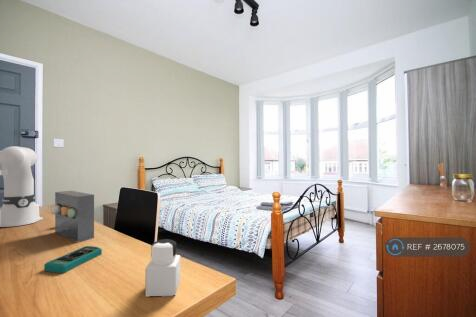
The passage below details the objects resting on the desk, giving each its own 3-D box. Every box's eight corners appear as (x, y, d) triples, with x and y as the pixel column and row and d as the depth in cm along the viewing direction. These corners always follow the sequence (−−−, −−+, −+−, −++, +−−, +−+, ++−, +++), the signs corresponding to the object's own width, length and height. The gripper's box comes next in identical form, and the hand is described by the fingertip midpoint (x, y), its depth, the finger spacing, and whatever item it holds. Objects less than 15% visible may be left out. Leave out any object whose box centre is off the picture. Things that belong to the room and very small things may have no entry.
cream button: (51, 213, 100) (51, 205, 100) (57, 212, 102) (57, 204, 102) (54, 214, 98) (54, 206, 98) (61, 213, 100) (61, 205, 100)
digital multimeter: (103, 254, 81) (103, 246, 81) (62, 275, 67) (62, 265, 67) (86, 252, 83) (86, 244, 83) (42, 272, 68) (42, 262, 68)
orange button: (60, 215, 98) (60, 206, 98) (67, 214, 100) (67, 205, 100) (64, 216, 96) (64, 207, 96) (71, 215, 98) (71, 206, 98)
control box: (55, 232, 104) (55, 192, 104) (70, 229, 109) (70, 190, 109) (77, 242, 92) (77, 196, 92) (94, 237, 97) (94, 194, 97)
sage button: (67, 217, 94) (67, 208, 94) (74, 216, 96) (74, 207, 96) (71, 218, 92) (71, 209, 92) (78, 217, 94) (78, 208, 94)
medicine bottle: (153, 282, 62) (153, 237, 62) (180, 280, 63) (180, 236, 63) (145, 297, 55) (145, 247, 55) (175, 296, 56) (175, 246, 56)
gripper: (-58, 182, 79) (-1, 179, 91) (-49, 186, 68) (15, 182, 80) (-58, 164, 79) (-1, 163, 91) (-48, 165, 68) (15, 164, 80)
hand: (6, 172), depth 85 cm, fingers closed
